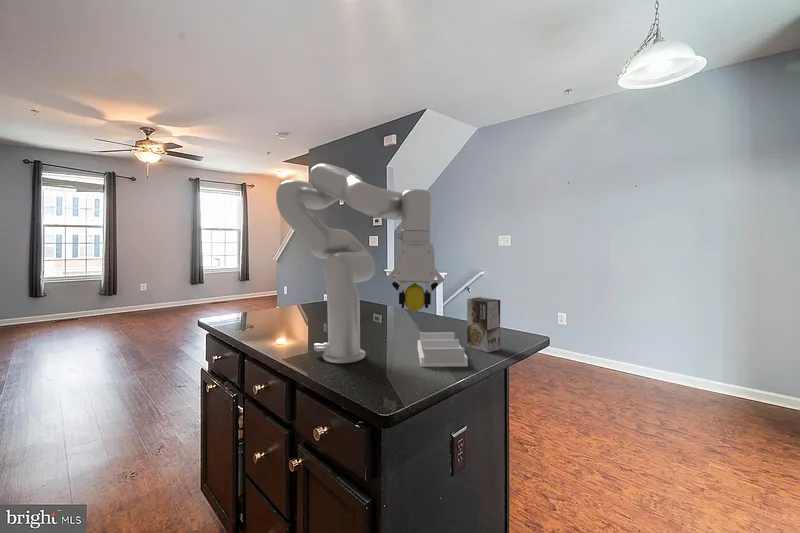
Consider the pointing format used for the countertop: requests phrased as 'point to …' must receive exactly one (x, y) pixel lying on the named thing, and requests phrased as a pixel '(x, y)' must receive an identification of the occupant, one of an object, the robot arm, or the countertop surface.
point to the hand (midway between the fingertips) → (414, 306)
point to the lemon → (414, 297)
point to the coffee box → (483, 324)
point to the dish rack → (440, 350)
